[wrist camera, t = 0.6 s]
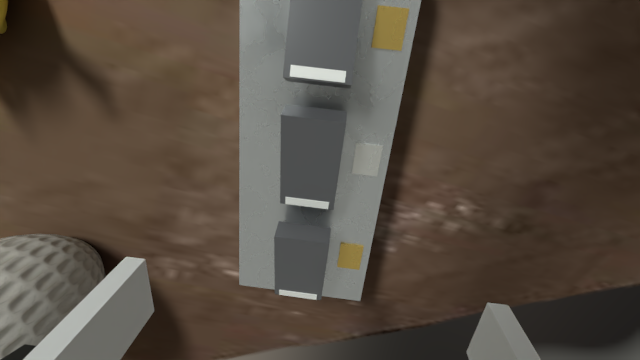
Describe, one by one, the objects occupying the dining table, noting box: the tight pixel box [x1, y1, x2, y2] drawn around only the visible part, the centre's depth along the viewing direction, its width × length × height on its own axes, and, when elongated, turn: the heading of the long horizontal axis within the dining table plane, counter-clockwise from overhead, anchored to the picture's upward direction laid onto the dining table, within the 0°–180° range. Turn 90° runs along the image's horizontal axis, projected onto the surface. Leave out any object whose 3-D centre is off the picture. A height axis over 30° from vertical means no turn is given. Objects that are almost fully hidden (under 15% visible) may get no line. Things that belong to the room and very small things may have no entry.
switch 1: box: [283, 0, 363, 89], centre depth 23 cm, size 9×5×2 cm, turn 174°
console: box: [239, 0, 421, 301], centre depth 31 cm, size 34×14×6 cm, turn 174°
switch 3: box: [274, 221, 331, 300], centre depth 32 cm, size 9×5×2 cm, turn 174°
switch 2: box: [280, 104, 347, 210], centre depth 27 cm, size 9×5×2 cm, turn 174°
